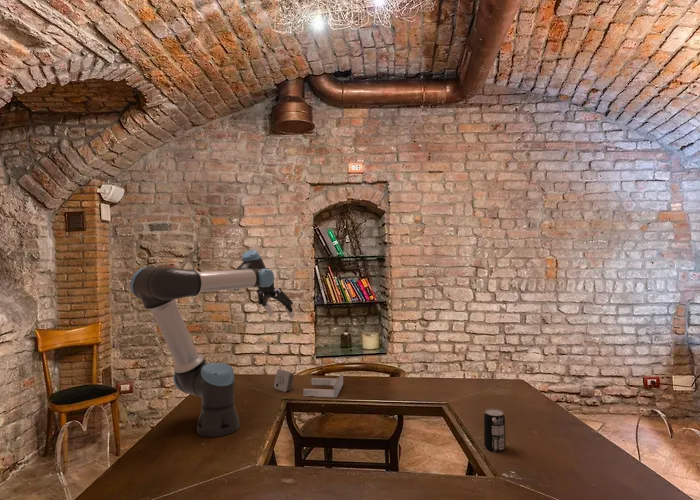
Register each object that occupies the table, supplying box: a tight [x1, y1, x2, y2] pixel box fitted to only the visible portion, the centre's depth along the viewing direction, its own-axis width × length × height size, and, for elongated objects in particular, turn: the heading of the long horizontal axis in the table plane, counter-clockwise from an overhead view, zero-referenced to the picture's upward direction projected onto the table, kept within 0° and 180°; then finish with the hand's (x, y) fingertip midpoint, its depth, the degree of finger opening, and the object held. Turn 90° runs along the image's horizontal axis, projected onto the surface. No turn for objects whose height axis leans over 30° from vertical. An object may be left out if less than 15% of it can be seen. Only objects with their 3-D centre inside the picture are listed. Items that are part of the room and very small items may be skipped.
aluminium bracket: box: [302, 374, 344, 398], centre depth 206 cm, size 18×16×5 cm
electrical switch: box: [273, 368, 295, 393], centre depth 208 cm, size 9×5×9 cm, turn 46°
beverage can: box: [483, 408, 506, 453], centre depth 145 cm, size 7×7×12 cm
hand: (282, 315), depth 210 cm, fingers open, 13 cm apart
